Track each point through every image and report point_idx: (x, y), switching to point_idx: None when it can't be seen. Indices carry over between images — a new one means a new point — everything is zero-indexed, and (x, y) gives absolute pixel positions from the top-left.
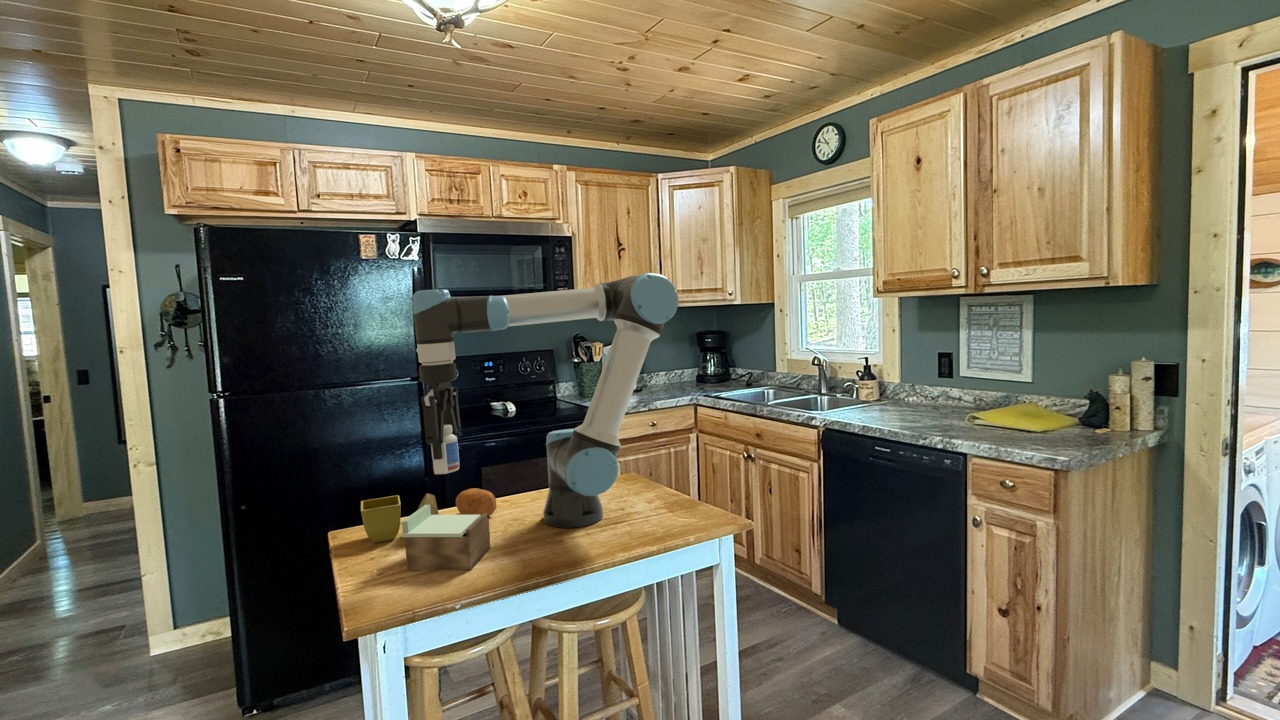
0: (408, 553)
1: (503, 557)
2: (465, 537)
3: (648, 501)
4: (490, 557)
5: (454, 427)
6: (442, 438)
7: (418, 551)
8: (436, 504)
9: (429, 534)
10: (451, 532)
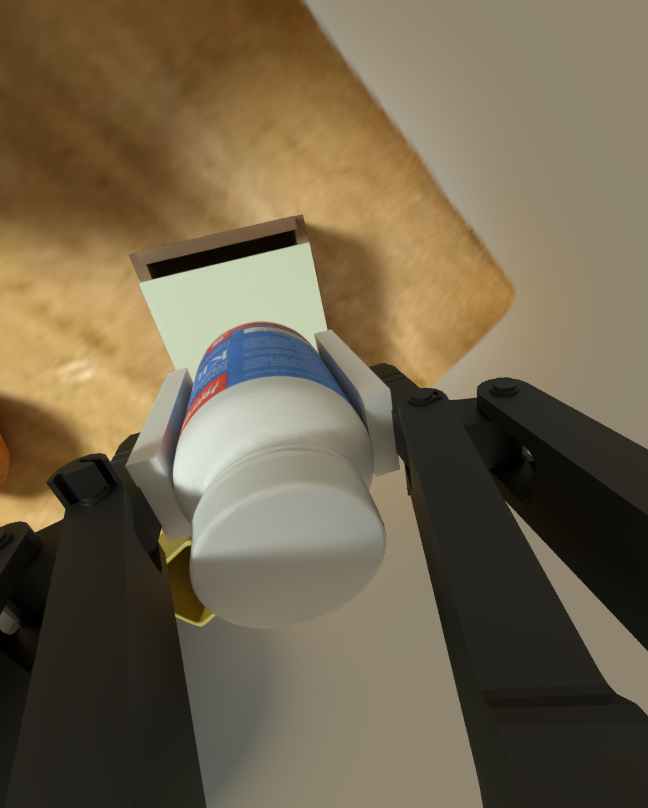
0: None
1: (192, 172)
2: (303, 227)
3: None
4: (205, 213)
5: (125, 527)
6: (416, 410)
7: None
8: None
9: None
10: (307, 277)
